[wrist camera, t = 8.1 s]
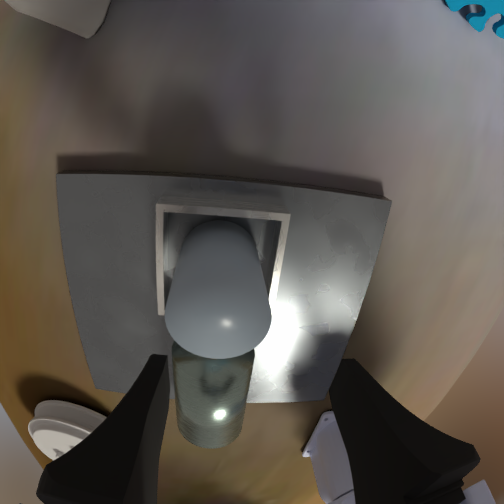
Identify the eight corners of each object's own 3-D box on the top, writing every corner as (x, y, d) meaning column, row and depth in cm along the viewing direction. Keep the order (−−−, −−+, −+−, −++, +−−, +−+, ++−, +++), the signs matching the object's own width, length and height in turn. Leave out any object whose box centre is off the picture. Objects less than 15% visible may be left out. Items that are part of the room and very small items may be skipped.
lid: (126, 463, 31) (121, 494, 27) (37, 426, 28) (26, 456, 23) (153, 425, 27) (147, 465, 23) (39, 375, 24) (21, 413, 19)
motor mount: (321, 391, 26) (337, 445, 21) (98, 380, 24) (81, 433, 18) (384, 196, 19) (438, 232, 13) (63, 170, 16) (7, 199, 11)
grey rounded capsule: (255, 289, 19) (267, 358, 14) (182, 289, 19) (170, 357, 14) (259, 220, 18) (276, 274, 12) (178, 220, 17) (159, 273, 12)
